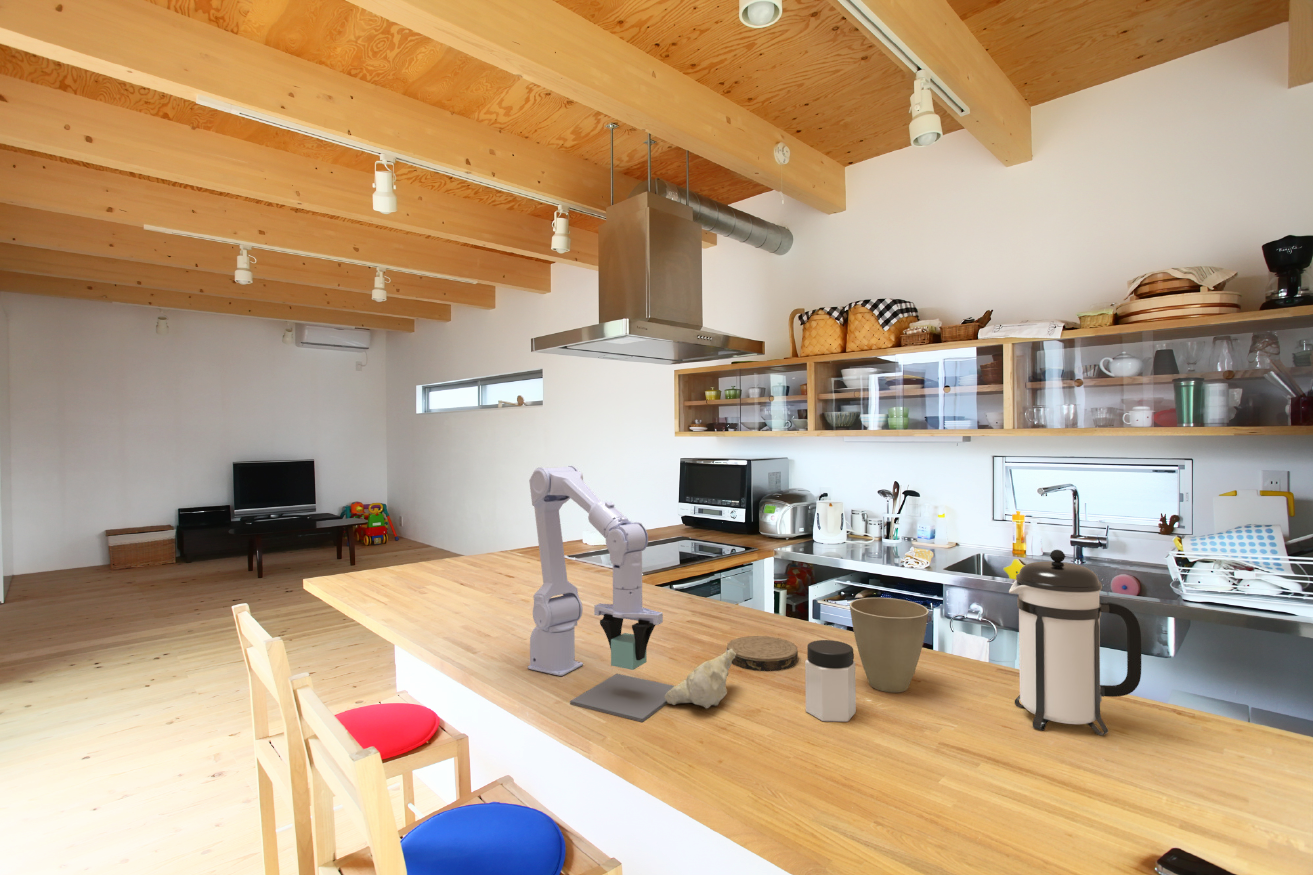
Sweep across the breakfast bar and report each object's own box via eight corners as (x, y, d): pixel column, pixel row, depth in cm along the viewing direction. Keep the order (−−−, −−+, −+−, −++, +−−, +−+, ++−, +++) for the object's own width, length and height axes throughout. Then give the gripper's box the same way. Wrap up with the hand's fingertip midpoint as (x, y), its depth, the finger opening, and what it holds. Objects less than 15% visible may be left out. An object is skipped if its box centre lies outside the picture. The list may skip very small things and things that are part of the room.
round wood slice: (778, 678, 134) (778, 663, 134) (713, 662, 144) (713, 649, 144) (809, 657, 147) (809, 644, 147) (748, 644, 156) (748, 631, 156)
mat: (570, 704, 121) (570, 700, 121) (616, 676, 135) (616, 673, 135) (642, 722, 113) (642, 718, 113) (684, 690, 127) (684, 687, 127)
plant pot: (837, 687, 128) (836, 607, 128) (869, 667, 139) (868, 593, 139) (911, 708, 118) (911, 621, 118) (940, 684, 129) (939, 605, 129)
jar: (865, 717, 114) (865, 650, 114) (830, 726, 111) (829, 657, 111) (831, 699, 122) (830, 636, 122) (797, 707, 119) (796, 642, 119)
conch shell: (681, 733, 113) (747, 678, 113) (657, 697, 116) (721, 644, 116) (696, 723, 127) (754, 675, 127) (674, 692, 130) (731, 644, 130)
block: (610, 665, 123) (610, 639, 123) (624, 657, 128) (624, 632, 128) (633, 669, 121) (632, 643, 121) (646, 662, 125) (646, 636, 125)
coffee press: (1085, 750, 102) (1084, 561, 102) (992, 712, 116) (991, 547, 116) (1144, 726, 110) (1142, 552, 110) (1050, 694, 124) (1048, 539, 124)
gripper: (584, 586, 124) (585, 656, 124) (649, 594, 117) (649, 669, 117) (605, 579, 130) (606, 645, 130) (667, 587, 123) (668, 657, 123)
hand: (628, 656), depth 124 cm, fingers closed on block, 5 cm apart
